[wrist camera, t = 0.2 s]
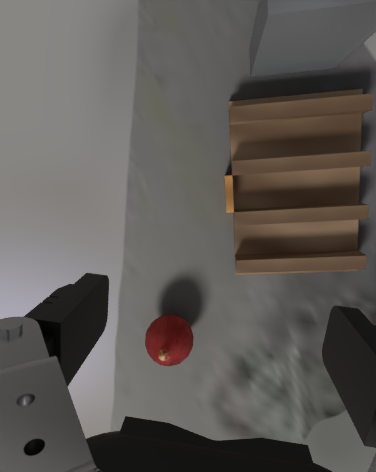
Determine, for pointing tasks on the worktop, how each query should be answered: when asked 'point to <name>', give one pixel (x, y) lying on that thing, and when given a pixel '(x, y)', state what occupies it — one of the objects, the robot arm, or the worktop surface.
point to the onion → (169, 340)
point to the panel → (308, 34)
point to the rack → (297, 182)
